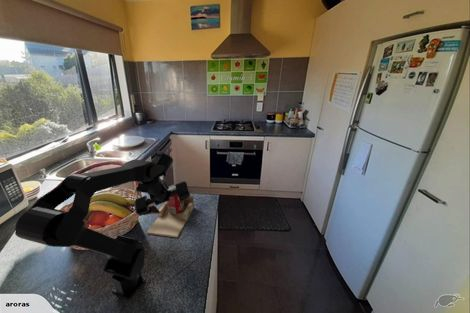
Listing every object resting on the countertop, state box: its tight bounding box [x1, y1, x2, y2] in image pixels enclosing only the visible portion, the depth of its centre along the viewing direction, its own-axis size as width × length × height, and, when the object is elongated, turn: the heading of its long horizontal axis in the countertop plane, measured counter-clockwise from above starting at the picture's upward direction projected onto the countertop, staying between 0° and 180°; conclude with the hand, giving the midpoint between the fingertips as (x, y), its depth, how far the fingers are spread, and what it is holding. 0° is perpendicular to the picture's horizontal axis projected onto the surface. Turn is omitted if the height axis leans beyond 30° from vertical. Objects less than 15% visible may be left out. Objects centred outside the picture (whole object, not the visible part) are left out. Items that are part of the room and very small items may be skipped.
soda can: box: [167, 184, 184, 214], centre depth 88 cm, size 7×7×12 cm
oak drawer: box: [146, 194, 195, 238], centre depth 85 cm, size 19×12×7 cm, turn 172°
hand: (170, 207), depth 78 cm, fingers open, 9 cm apart
